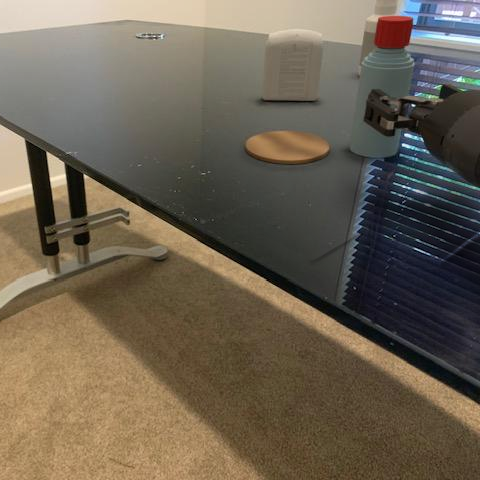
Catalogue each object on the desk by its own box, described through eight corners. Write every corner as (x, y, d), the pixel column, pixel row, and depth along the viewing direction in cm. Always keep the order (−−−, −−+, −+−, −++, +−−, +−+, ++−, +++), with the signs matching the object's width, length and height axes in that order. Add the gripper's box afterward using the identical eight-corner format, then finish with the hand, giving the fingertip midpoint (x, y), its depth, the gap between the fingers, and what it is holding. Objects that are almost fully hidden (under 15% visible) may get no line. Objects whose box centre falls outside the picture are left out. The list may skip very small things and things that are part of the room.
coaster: (281, 129, 81) (282, 125, 81) (346, 147, 73) (346, 144, 73) (228, 148, 75) (228, 144, 75) (292, 171, 67) (292, 167, 67)
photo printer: (317, 95, 96) (324, 26, 90) (318, 102, 93) (326, 30, 86) (262, 95, 98) (265, 28, 92) (261, 102, 95) (265, 32, 88)
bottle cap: (385, 40, 67) (389, 14, 66) (415, 43, 64) (420, 17, 63) (367, 45, 65) (371, 19, 63) (397, 49, 62) (402, 21, 61)
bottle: (365, 138, 76) (385, 16, 67) (406, 149, 71) (433, 20, 63) (340, 149, 73) (357, 23, 64) (380, 161, 68) (405, 27, 59)
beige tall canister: (357, 79, 105) (371, -18, 96) (357, 71, 110) (370, -21, 101) (393, 79, 103) (411, -19, 94) (391, 72, 108) (408, -22, 99)
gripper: (575, 96, 46) (473, 59, 60) (418, 106, 46) (353, 66, 60) (546, 172, 50) (457, 121, 63) (402, 182, 50) (345, 128, 63)
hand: (407, 94), depth 61 cm, fingers open, 8 cm apart
